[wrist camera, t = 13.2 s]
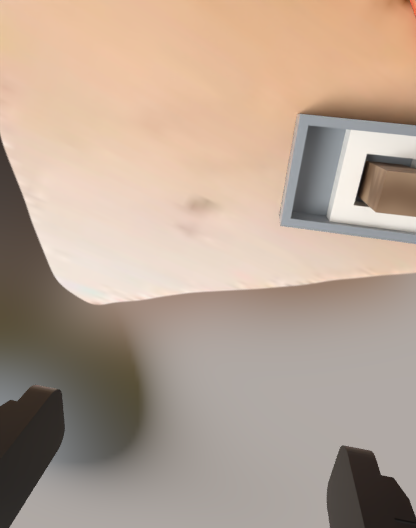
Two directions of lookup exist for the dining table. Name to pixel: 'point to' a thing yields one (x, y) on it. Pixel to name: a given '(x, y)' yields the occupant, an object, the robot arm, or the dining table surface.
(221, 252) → the dining table surface
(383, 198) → the peg
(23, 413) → the robot arm
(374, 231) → the walled box
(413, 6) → the cracker box
